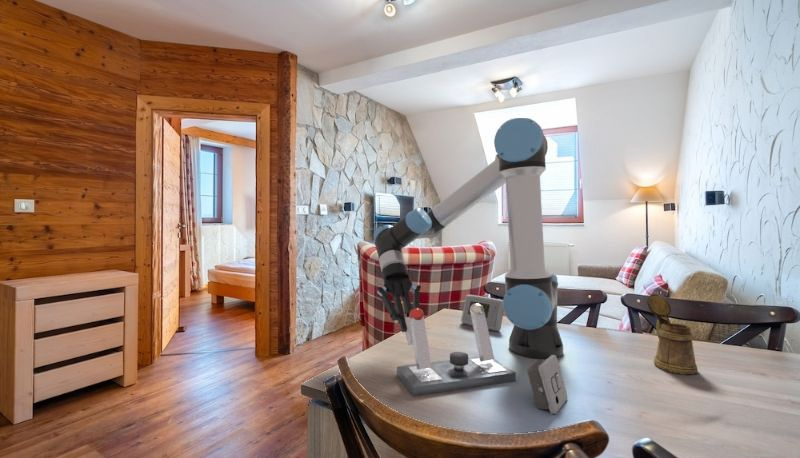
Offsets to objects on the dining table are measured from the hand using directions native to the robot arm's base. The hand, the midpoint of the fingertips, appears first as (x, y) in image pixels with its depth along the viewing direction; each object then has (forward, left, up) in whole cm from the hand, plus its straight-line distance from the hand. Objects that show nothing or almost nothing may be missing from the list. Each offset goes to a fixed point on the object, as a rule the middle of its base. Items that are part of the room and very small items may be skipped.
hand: (412, 342), depth 96 cm
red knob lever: (-3, +7, -5) cm, 9 cm away
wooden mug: (-68, -6, -7) cm, 69 cm away
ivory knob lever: (-19, +2, -5) cm, 20 cm away
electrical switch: (-28, +17, -7) cm, 34 cm away
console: (-10, +5, -7) cm, 13 cm away
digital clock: (-25, -40, -7) cm, 48 cm away
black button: (-11, +4, -3) cm, 13 cm away
